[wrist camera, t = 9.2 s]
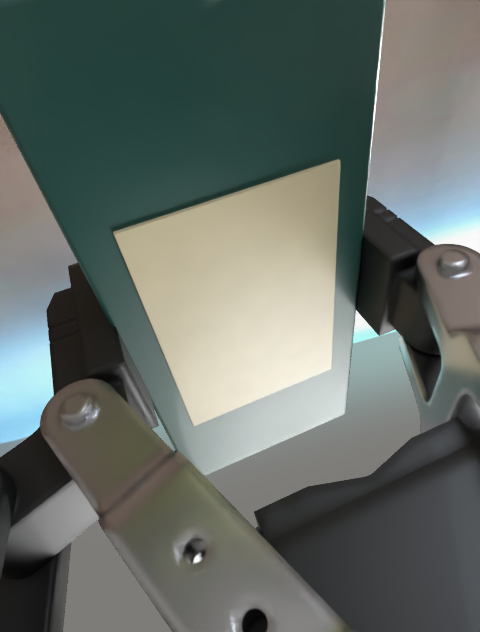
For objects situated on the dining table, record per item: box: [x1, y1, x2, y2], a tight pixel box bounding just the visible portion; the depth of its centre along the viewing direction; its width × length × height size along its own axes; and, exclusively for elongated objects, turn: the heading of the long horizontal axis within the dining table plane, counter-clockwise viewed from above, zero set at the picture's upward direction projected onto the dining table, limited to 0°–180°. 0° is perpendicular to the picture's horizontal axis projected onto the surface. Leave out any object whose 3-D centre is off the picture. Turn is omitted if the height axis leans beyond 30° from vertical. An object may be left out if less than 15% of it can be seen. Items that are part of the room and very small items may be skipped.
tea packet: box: [0, 0, 386, 476], centre depth 10 cm, size 12×5×3 cm, turn 8°
